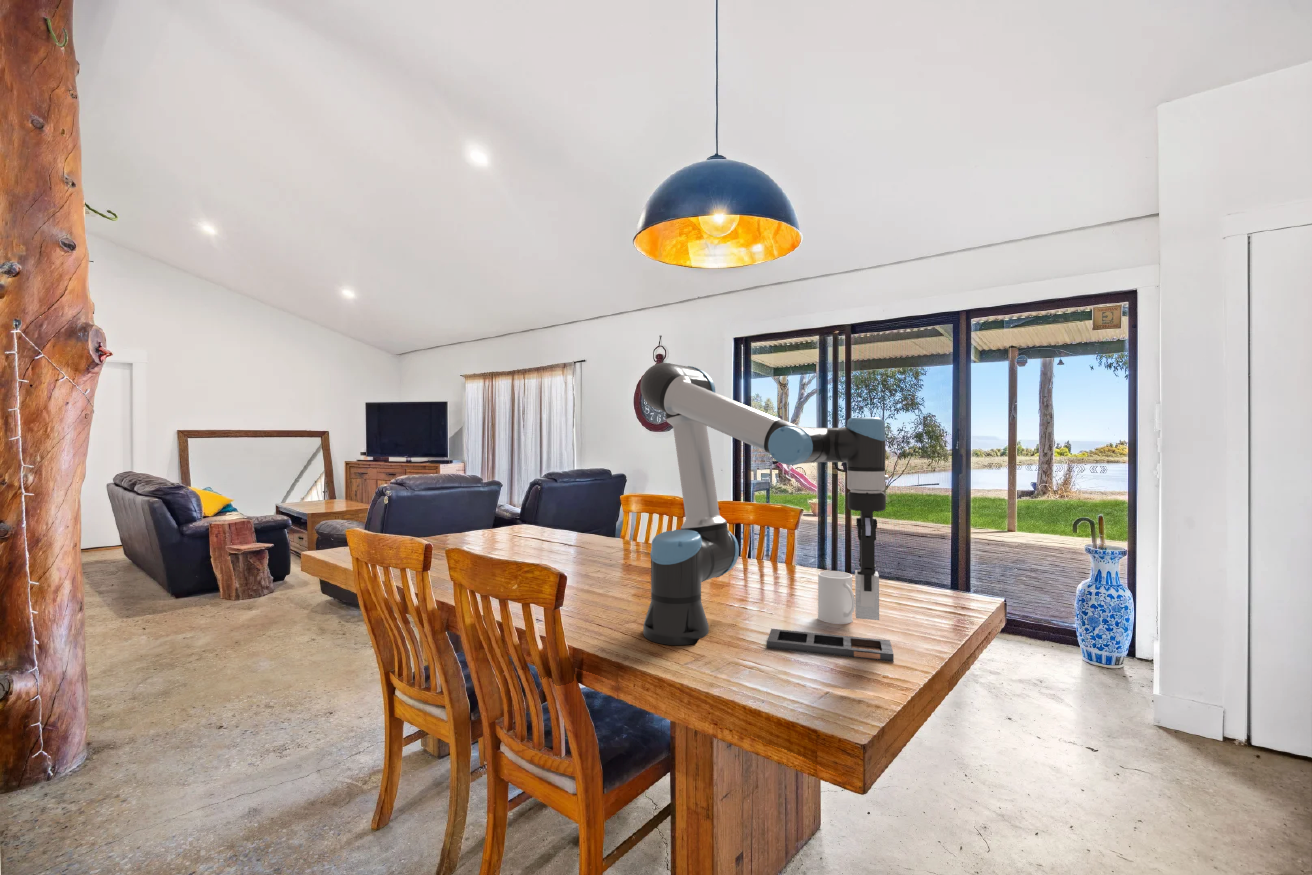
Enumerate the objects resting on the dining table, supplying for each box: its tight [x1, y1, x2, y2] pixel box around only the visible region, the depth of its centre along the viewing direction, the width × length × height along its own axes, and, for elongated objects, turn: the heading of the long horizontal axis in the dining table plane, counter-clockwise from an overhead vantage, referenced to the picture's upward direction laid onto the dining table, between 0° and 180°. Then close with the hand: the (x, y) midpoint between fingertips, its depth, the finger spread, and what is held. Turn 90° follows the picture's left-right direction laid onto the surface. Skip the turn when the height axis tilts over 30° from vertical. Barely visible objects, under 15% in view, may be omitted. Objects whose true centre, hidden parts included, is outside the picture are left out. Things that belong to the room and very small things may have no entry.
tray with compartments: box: [766, 628, 894, 663], centre depth 124 cm, size 25×8×2 cm, turn 73°
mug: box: [817, 570, 855, 625], centre depth 143 cm, size 12×8×12 cm
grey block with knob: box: [854, 569, 880, 621], centre depth 122 cm, size 4×4×10 cm
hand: (866, 602), depth 122 cm, fingers closed on grey block with knob, 4 cm apart
